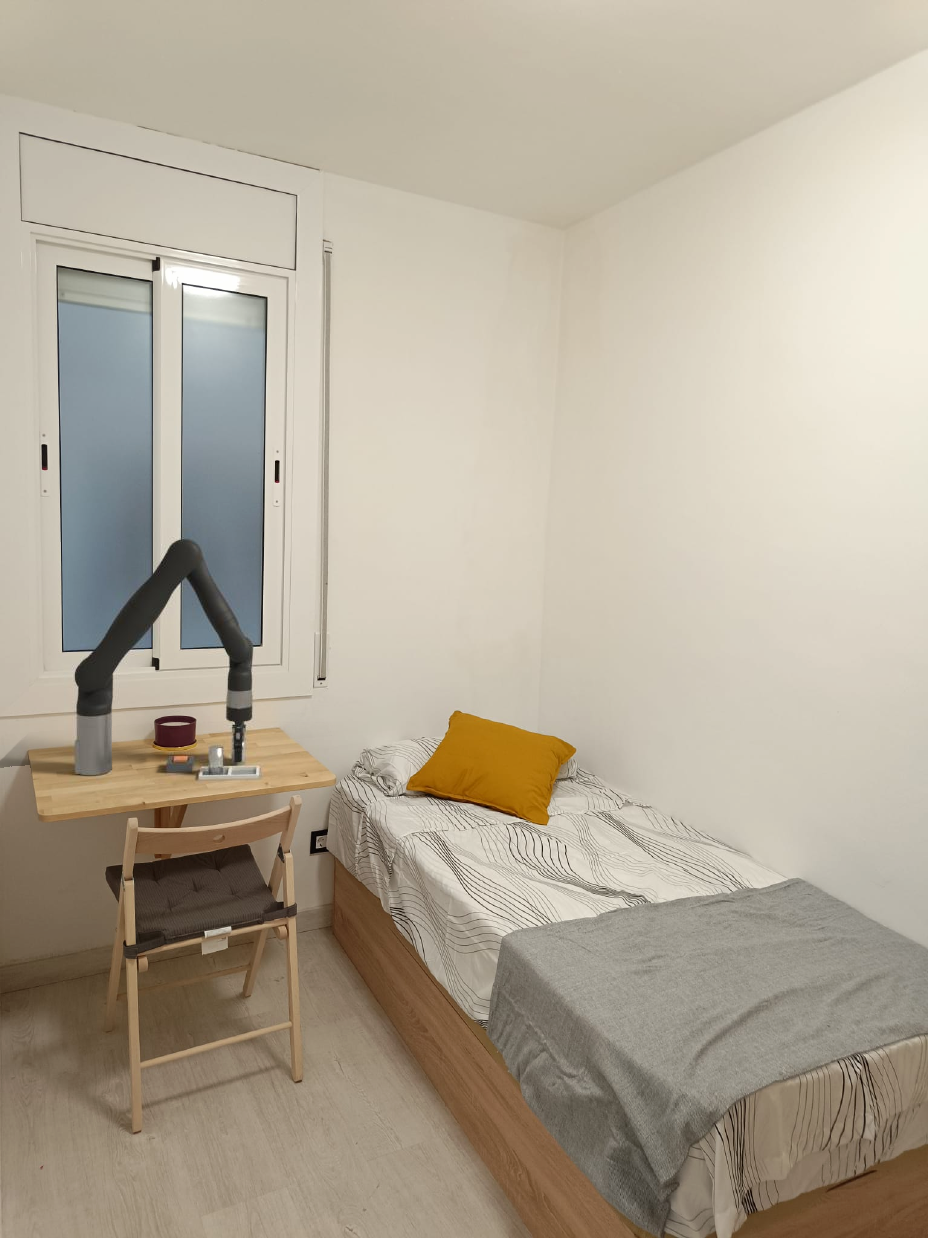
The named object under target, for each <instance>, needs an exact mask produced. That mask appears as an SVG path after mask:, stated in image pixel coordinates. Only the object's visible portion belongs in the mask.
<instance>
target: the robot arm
mask: <svg viewBox="0 0 928 1238" xmlns="http://www.w3.org/2000/svg"><path fill="white" fill-rule="evenodd" d="M185 579H186V580H187V581H188V583H189V584H190V586H191V587H192V589H193V591H194V592H195V595H196V597H197V600H198V601H199V604H200V605H201V608H202V610H203V612H204V614H205V616H206V618H207V619H208V621H209V623H210V624H211V626H212V628H213V629H214V631H215V633H217V635H218V638H219V640H220V642H221V644H222V646H223V648H224V650H225V653H226V654H227V656H228V662H229V663H228V665H229V668H228V669H229V670H228V674H227V688H226V689H227V690H226V701H225V702H226V703H225V705H226V708H225V711H226V712H225V718H226V720H227V721H228V722H233V723H234V724H232V726H231V733H232V738H233V739H232V738H231V742H232V741H233V742H234V747H233V749H234V762H242V749H243V742H244V739H245V738H246V730H247V725H246V724H247V723H246V724H245V722H249V721H251V720H252V718H253V700H254V699H253V690H252V688H253V675H252V667H253V659H254V658H253V657H254V655H253V654H254V645H253V642H252V641H251V639H249V638H248V637H247V636H245V634H244V633H243V631H242V629H241V628H240V627H241V626H240V625H239V621H238V619H237V617H236V616H235V614H234V611H233V609H232V608H231V607H230V605H229V603H228V602H227V599H226V598H225V597H224V595H223V594H222V592H221V590H220V589H219V587H218V586H217V584H216V582H215V581H214V579H213V577H212V575H211V573H210V570H209V569H208V567H207V564H206V560H205V558H204V556H203V552H202V548H201V546H200V545H199V544H198V543H197V542H196V541H194V540H193V539H190V538H181V539H180V538H179V539H178V540H175V541H173V542H172V543H171V544H170V545H169V547H168V549H167V551H166V552H165V553H164V556H163V558H162V560H161V561H160V563H159V564H158V565H157V567H156V569H155V571H154V572H153V573H152V574H151V575H150V576H149V578H147V580H146V581H145V582H144V583H143V584H141V586H139V587H138V589H137V590H136V591H135V592H134V593H133V594H132V596H131V597H129V599H128V601H127V602H126V603H125V605H124V606H123V607H122V608H121V610H120V611H119V612H118V614H117V615H116V617H115V618H114V620H113V621H112V623H111V625H110V626H109V628H108V630H107V632H106V633H105V635H104V637H103V638H102V640H101V641H100V642H99V644H98V645H97V646H96V648H94V650H93V651H92V652H91V653H90V654H89V655H88V656H86V657H85V658H84V659H83V660H82V661H81V662H80V663H79V664H78V665H77V667H76V669H75V671H74V682H75V684H76V686H77V689H78V690H77V700H76V701H77V702H76V740H75V741H74V774H76V775H83V776H100V775H104V774H107V773H110V772H111V771H112V770H113V766H112V765H113V762H112V760H113V759H112V758H113V755H112V754H113V753H112V752H113V745H112V743H113V739H112V738H113V736H112V735H113V733H112V732H113V731H112V730H113V729H112V728H113V727H112V726H113V725H112V724H113V720H112V719H113V718H112V717H113V715H112V714H113V713H112V712H113V710H112V709H113V699H114V695H113V693H114V688H113V687H114V672H115V671H116V669H117V667H118V666H119V665H120V663H121V662H122V660H123V658H124V657H125V656H126V655H127V654H128V653H129V652H130V651H131V650H132V649H133V648H134V647H135V646H136V645H137V644H138V643H139V642H140V641H141V639H142V638H143V637H144V636H145V635H146V633H148V631H149V630H150V629H151V627H152V626H153V625H154V624H155V622H157V620H158V619H159V617H160V615H162V613H163V611H164V609H165V607H166V606H167V605H168V602H169V601H170V598H171V597H172V595H173V594H174V592H175V590H176V589H177V588H178V586H179V585H181V583H182V582H183V581H184V580H185ZM242 737H243V739H242ZM236 744H241V746H236Z"/></svg>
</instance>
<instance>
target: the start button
mask: <svg viewBox="0 0 928 1238" xmlns="http://www.w3.org/2000/svg"><path fill="white" fill-rule="evenodd" d="M174 756H175V757H174V760H173V762H188V756H189V755H174Z"/></svg>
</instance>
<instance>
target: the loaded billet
mask: <svg viewBox="0 0 928 1238" xmlns="http://www.w3.org/2000/svg"><path fill="white" fill-rule="evenodd" d="M223 766H224V746H222V745H210V746H209V747H208V766H207V767H208V775H223Z"/></svg>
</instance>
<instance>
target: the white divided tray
mask: <svg viewBox="0 0 928 1238" xmlns="http://www.w3.org/2000/svg"><path fill="white" fill-rule="evenodd" d="M261 777H262V768H261V767H260V765H233V766H232V765H227V766H225V765H223V775H208V766H201V767H200V769H199V770H198V774H197V777H196V781H197V782H198V781H238V780H239V781H241V780H242V781H243V780H245V781H247V780H262V778H261Z"/></svg>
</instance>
